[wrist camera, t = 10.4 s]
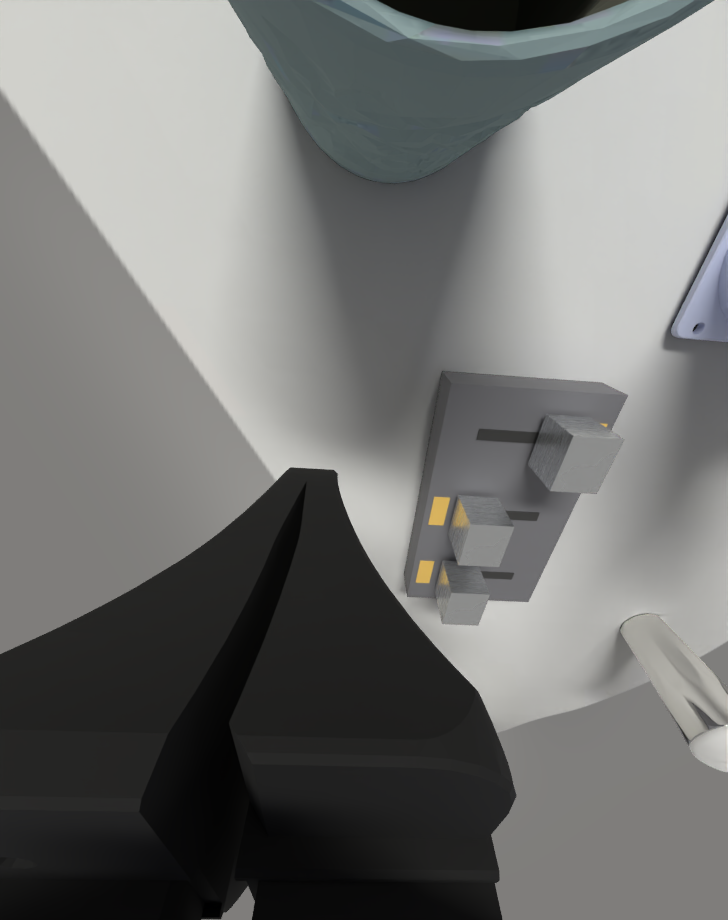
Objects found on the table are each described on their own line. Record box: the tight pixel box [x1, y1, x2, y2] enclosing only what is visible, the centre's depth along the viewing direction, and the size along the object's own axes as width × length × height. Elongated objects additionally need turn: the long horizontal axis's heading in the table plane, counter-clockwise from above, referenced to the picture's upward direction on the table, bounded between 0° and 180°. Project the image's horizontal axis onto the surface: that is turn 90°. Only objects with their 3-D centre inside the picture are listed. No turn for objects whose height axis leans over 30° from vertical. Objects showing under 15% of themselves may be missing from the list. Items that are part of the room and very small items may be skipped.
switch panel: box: [404, 371, 628, 602], centre depth 20 cm, size 8×15×2 cm, turn 176°
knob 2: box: [435, 561, 490, 625], centre depth 21 cm, size 2×3×2 cm
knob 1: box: [448, 495, 514, 567], centre depth 18 cm, size 2×3×2 cm
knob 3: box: [528, 414, 624, 494], centre depth 16 cm, size 2×3×2 cm
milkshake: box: [620, 614, 728, 772], centre depth 24 cm, size 4×5×10 cm
